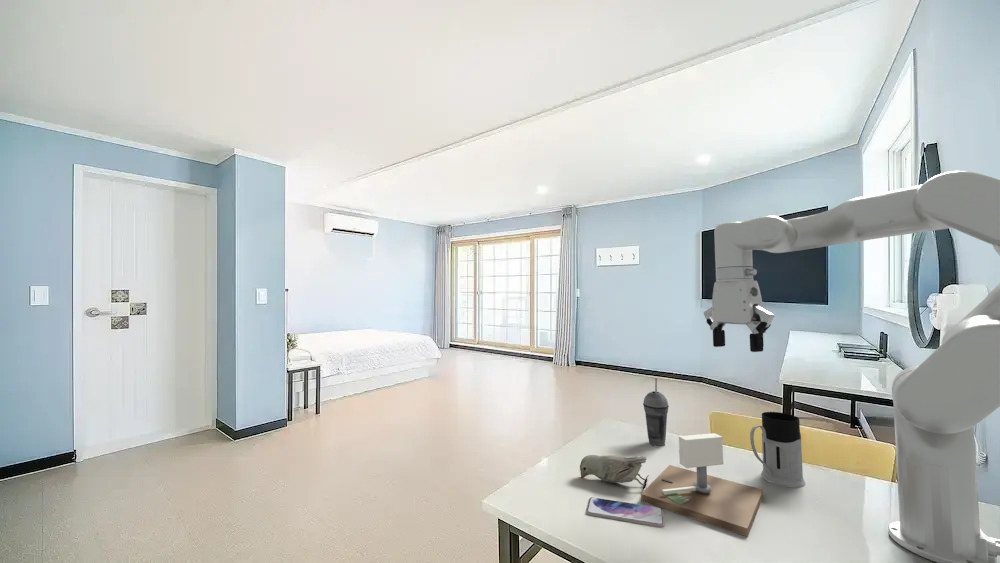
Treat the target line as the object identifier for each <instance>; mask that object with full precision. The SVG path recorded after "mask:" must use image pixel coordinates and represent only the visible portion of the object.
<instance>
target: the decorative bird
mask: <svg viewBox="0 0 1000 563" xmlns="http://www.w3.org/2000/svg"><path fill="white" fill-rule="evenodd" d="M647 458H648V457H647V456H643V455H642V456H637V455H635V456H621V455H596V454H589V455H588V454H587V455H585V456H584V457H583V458H581V460H580V461H581V462H580V463H579V464H580V465H579V471H580V478H581V479H583V478H585V477H587V476H595V477H596V478H598V479H600V480H601V481H604V482H607V483H610V484H611V483H613V484H621V483H623V484H624V483H631V482H633V480H635V481H637V482H638V484H640V485H642V486H643V487H642V492H643V491H644V490H645V489H646V488H647V483H648V477H649V475H647V476H646V478H644V477H642V476H641V475H640V473H639V472H640V471H641V468H642V464H646V462H647ZM637 476H639V478H640V479H642V480H643V483H642V482H640V480H639V478H638V477H637Z"/></svg>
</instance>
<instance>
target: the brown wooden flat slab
mask: <svg viewBox="0 0 1000 563" xmlns="http://www.w3.org/2000/svg"><path fill="white" fill-rule="evenodd" d="M696 482H697V471H695V470H691V469H688V468H683V467H679V466H674V465H670V464H669V465H668V466H667V467H666V468H665V469H664V470H663V471H662V472H661V473H660V474H659V475H658V476H657V477H656V478H654V480H653V481H652V482H651V483H650V484H649V485H648V486H646V487H645V488H644V491H643V490H642V492H641V493H640V500H641V502H643V503H646V504H650V505H651V506H654V507H659V508H661V509H664V510H667V511H670V512H673V513H676V514H679V515H683V516H685V517H689V518H691V519H693V520H697V521H699V522H703V523H707V524H709V525H713V526H715V527H718V528H720V529H722V530H723V529H724V530H727V531H729V532H733V533H736V534H737V535H741V536H745V537H749V535H750V533H751V532H750V531H751V529H752V527H753V524H754V521H755V520H756V516H757V513H758V511H759V509H760V506H761V504H762V500H763V499H764V490H763V488H758V487H754V486H751V485H748V484H745V483H744V484H743V483H739V482H736V481H734V480H733V481H732V480H728V479H725V478H721V477H717V476H714V475H709V474H707V484H708V485H710V486H711V490H712V491H711V492H710V493H702V492H698V491H687V492H678V493H669V494H663V493H662V490H664V489H673V488H682V487H691V486H693V484H694V483H696Z"/></svg>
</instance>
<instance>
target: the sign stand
mask: <svg viewBox="0 0 1000 563" xmlns="http://www.w3.org/2000/svg"><path fill="white" fill-rule="evenodd" d="M723 447H724V446H723V436H722V435H719V434H718V433H715V432H714V433H702V434H689V435H679V436H678V448H679V450H678V452H679V453H678V454H679V459H678V460H679V464H680V465H681V466H682V467H684V468H685V469H695V468H696V472H697V482H696V483H694V484H693V486H691V487H682V488H673V489H664V490H662V493H663V494H669V493H678V492H687V491H698V492H702V493H710V492H711V491H712V490H711V486H710V485H708V484H707V475H708V474H707V473H708V471H707V468H708V467H712V466H713V467H714V466H720V465H724V448H723Z"/></svg>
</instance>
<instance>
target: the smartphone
mask: <svg viewBox="0 0 1000 563" xmlns="http://www.w3.org/2000/svg"><path fill="white" fill-rule="evenodd" d="M585 512H586V515H588V516H591V517H599V518H602V519H603V518H604V519H610V520H615V521H621V522H622V521H623V522H627V523H632V524H638V525H639V524H640V525H645V526H650V527H655V528H664V527H665V520H664V512H663V508H661V507H658V506H654V505H645V504H638V503H633V502H628V501H627V502H626V501H619V500H613V499H605V498H599V497H592V496H591V497H589V500H588V503H587V507H586V511H585Z"/></svg>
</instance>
